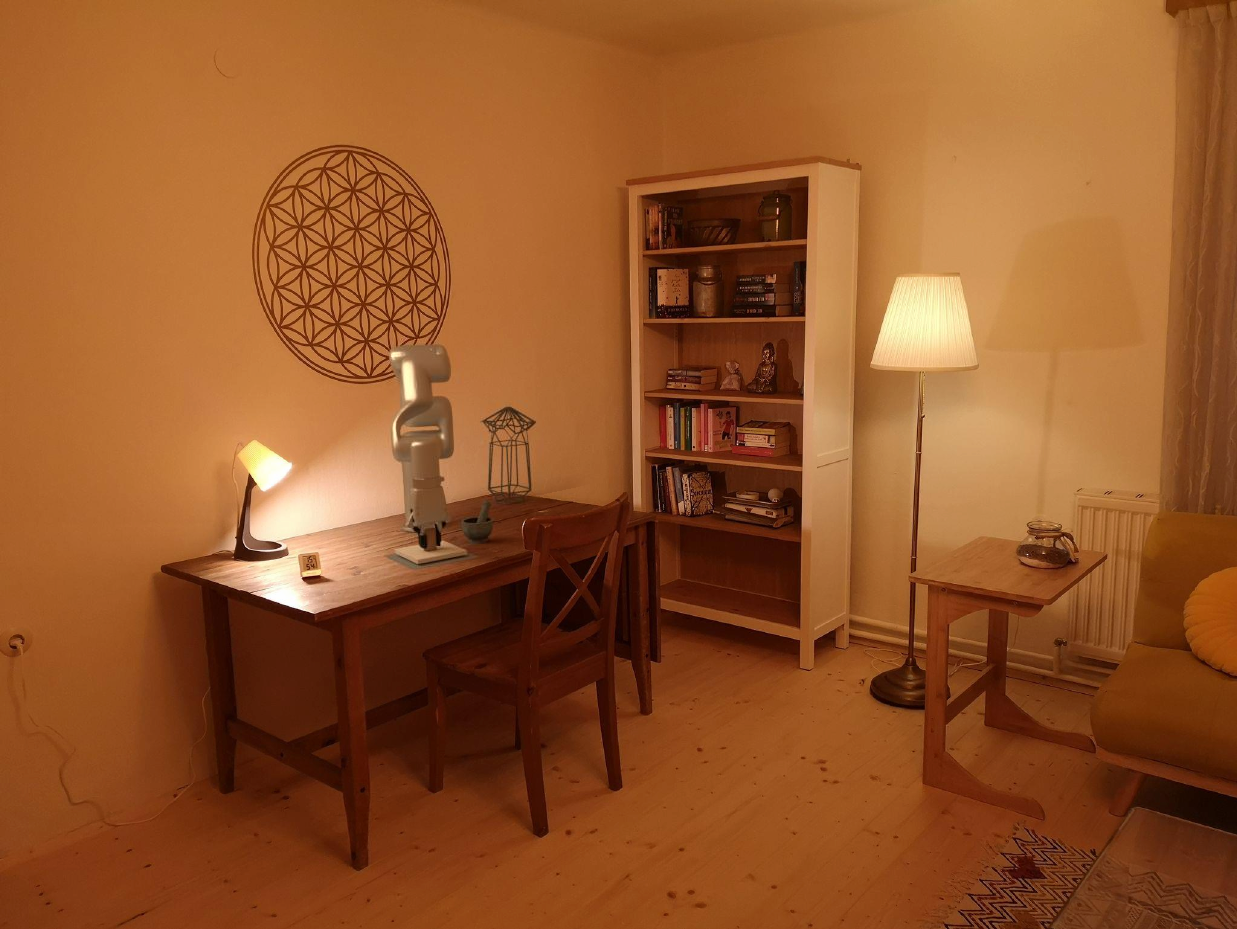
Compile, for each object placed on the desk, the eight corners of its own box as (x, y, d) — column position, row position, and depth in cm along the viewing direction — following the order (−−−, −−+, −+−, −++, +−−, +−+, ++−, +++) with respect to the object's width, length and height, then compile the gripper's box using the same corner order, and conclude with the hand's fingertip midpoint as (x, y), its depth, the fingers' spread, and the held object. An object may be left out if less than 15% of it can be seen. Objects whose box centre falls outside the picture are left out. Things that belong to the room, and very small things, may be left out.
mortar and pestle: (480, 547, 282) (478, 507, 281) (455, 544, 287) (453, 505, 285) (503, 539, 292) (501, 500, 290) (479, 536, 297) (477, 498, 295)
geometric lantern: (515, 496, 361) (513, 403, 355) (539, 502, 349) (538, 407, 343) (479, 501, 351) (477, 406, 345) (503, 508, 339) (501, 410, 333)
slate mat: (383, 557, 274) (383, 555, 273) (446, 546, 285) (446, 544, 285) (413, 571, 258) (413, 569, 258) (479, 559, 269) (479, 556, 269)
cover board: (394, 553, 273) (393, 528, 272) (442, 544, 282) (441, 520, 281) (417, 564, 261) (416, 538, 260) (466, 554, 270) (465, 529, 269)
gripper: (447, 477, 276) (450, 539, 279) (393, 485, 266) (397, 549, 269) (459, 481, 270) (462, 544, 273) (404, 488, 260) (408, 554, 263)
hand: (430, 546), depth 271 cm, fingers closed on cover board, 3 cm apart
